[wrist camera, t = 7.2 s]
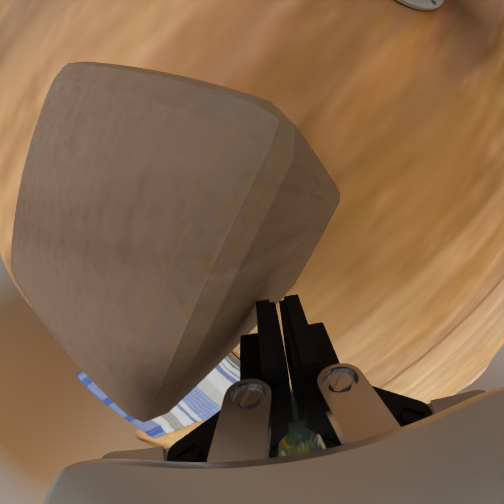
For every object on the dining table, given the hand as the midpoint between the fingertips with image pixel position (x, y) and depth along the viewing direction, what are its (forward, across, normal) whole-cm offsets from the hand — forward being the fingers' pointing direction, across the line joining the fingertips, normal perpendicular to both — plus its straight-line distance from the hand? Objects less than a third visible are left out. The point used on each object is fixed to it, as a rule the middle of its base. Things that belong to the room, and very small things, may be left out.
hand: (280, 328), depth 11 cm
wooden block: (+16, -1, -1) cm, 16 cm away
